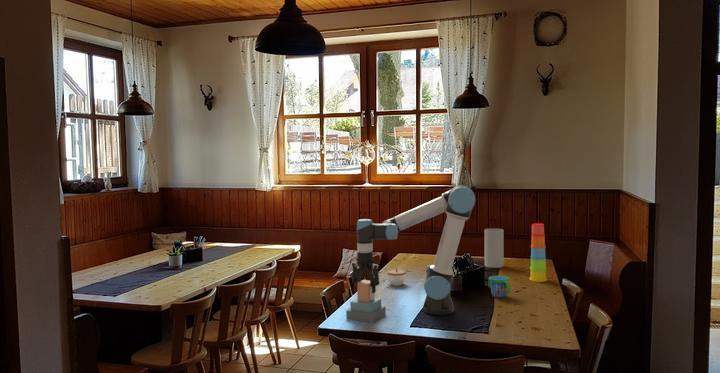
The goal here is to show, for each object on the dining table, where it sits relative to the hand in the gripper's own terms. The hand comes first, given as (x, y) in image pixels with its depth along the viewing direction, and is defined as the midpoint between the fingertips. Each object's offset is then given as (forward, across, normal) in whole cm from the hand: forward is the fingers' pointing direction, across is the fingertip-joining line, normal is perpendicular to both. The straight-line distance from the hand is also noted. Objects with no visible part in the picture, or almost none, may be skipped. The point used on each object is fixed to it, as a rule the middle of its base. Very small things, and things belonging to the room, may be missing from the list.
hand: (365, 298), depth 257 cm
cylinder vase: (+9, -26, -134) cm, 137 cm away
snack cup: (+9, -48, -63) cm, 80 cm away
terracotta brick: (+1, 0, 0) cm, 1 cm away
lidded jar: (+9, +13, -62) cm, 64 cm away
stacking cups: (+9, -60, -108) cm, 124 cm away
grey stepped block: (+9, 0, 0) cm, 9 cm away
